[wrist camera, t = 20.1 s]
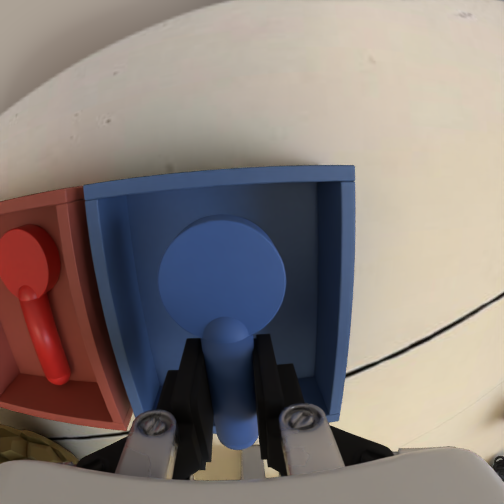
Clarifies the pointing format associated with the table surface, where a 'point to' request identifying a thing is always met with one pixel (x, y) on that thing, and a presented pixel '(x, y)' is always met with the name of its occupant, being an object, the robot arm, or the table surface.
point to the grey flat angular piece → (252, 463)
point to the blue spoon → (224, 309)
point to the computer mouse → (499, 467)
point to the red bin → (61, 324)
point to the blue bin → (279, 231)
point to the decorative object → (30, 447)
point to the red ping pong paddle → (35, 292)
